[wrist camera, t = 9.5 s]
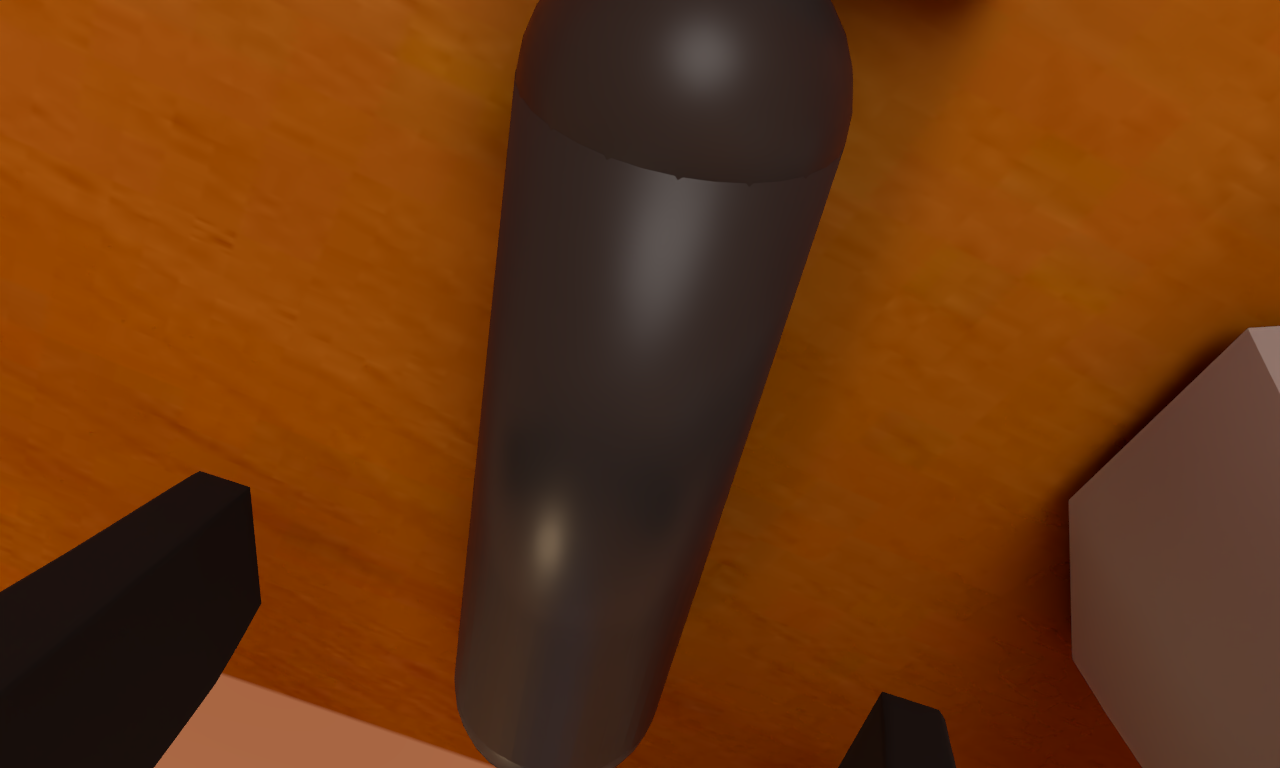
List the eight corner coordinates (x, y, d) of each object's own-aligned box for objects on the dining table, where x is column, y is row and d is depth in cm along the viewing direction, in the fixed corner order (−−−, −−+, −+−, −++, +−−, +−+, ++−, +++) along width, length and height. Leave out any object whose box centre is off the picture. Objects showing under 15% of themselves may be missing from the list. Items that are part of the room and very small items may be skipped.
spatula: (717, 702, 16) (679, 878, 14) (435, 609, 17) (352, 765, 14) (1497, -1235, 5) (1949, -1968, 3) (583, -1371, 6) (317, -2106, 3)
